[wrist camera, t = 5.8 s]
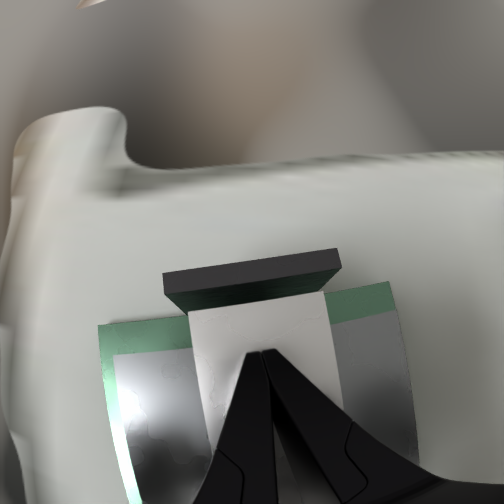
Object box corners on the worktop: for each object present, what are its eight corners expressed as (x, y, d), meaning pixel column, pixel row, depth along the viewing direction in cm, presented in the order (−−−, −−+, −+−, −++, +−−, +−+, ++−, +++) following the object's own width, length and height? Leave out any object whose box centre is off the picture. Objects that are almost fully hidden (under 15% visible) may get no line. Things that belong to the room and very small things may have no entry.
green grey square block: (412, 518, 12) (489, 569, 4) (159, 566, 11) (123, 646, 3) (381, 285, 18) (469, 227, 10) (104, 327, 16) (11, 293, 8)
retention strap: (355, 592, 6) (359, 599, 6) (258, 612, 6) (259, 620, 5) (318, 294, 10) (322, 290, 9) (190, 313, 10) (187, 311, 9)
